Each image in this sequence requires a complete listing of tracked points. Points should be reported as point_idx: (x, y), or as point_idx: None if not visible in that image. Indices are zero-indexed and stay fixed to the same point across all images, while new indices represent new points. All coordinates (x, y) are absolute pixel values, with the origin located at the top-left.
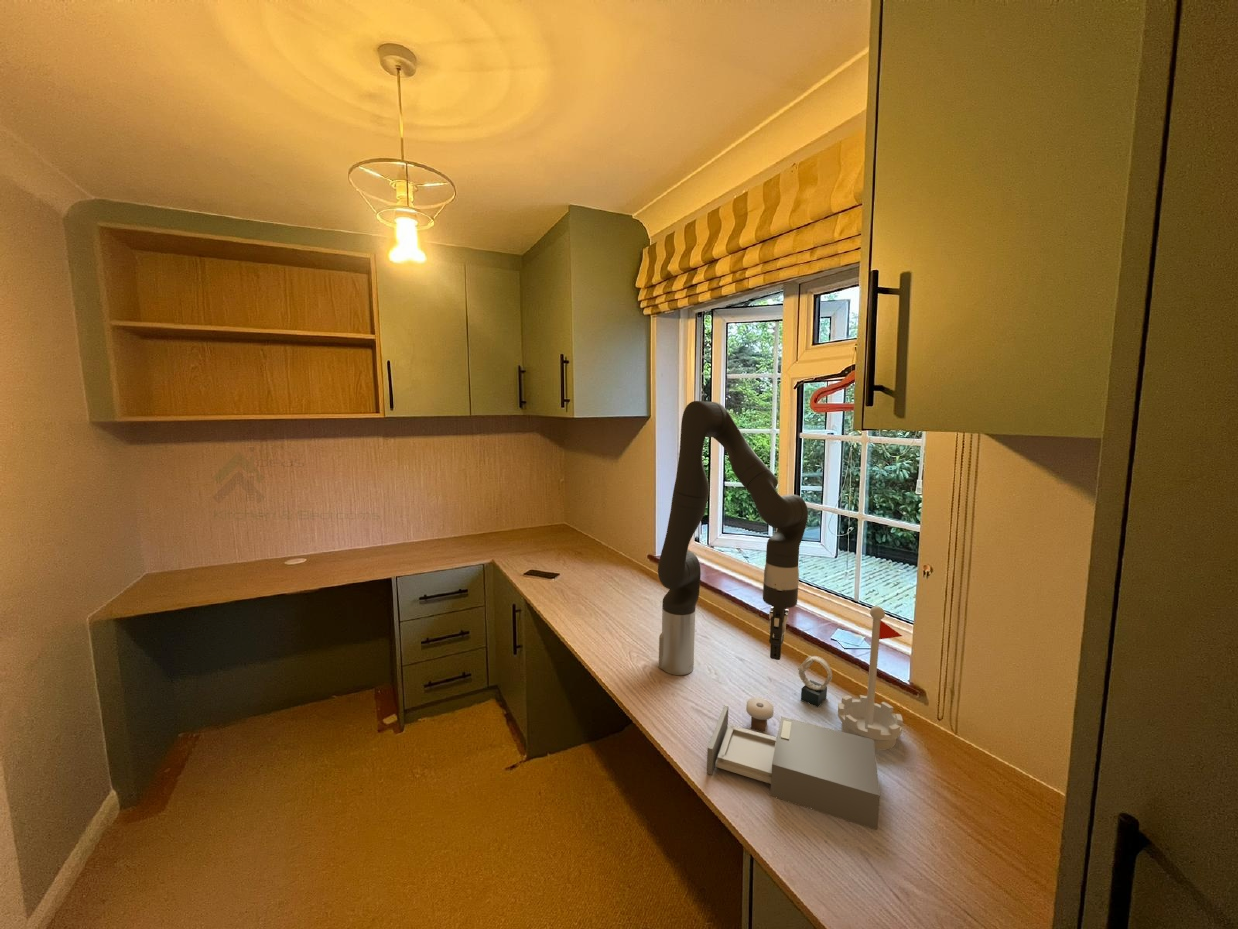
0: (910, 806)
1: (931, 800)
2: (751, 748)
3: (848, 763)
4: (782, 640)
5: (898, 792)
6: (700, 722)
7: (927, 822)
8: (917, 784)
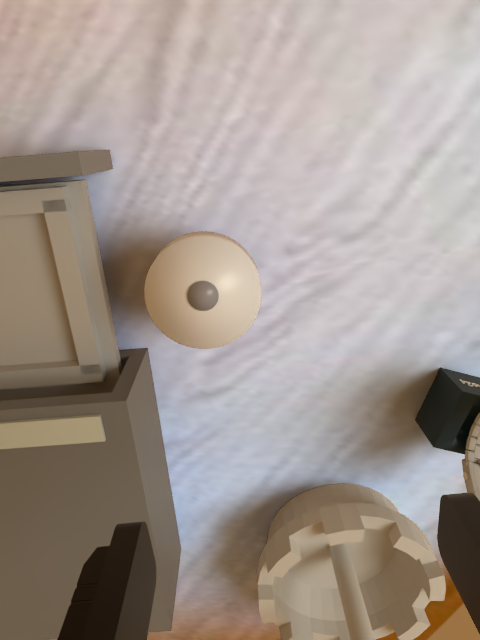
0: None
1: (148, 633)
2: (7, 294)
3: (9, 590)
4: (448, 568)
5: None
6: (97, 39)
7: None
8: (185, 617)
